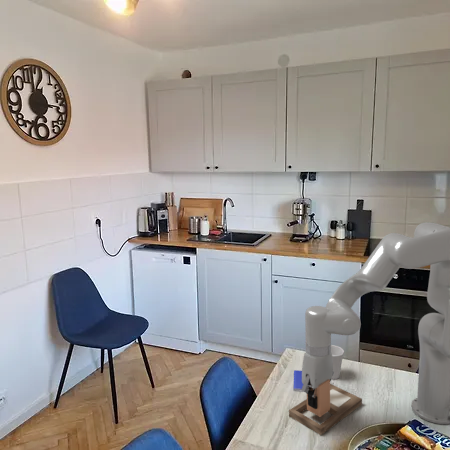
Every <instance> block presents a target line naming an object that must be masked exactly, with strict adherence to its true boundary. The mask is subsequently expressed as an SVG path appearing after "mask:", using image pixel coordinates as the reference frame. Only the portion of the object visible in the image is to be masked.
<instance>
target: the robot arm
mask: <svg viewBox="0 0 450 450" xmlns="http://www.w3.org/2000/svg"><path fill="white" fill-rule="evenodd" d="M428 266H430V267H429V268H430V269H429V270H430V272H429V278H428V287H427V294H426V299H427V300H426V301H427V304H428V305H429V306H430V307H431V308H432V309H434V310H435V311H436V312H429V313H427V314H424V316H422V317H421V318H420V320H419V323H418V326H417V327H418V329H417V335H418V340H419V341H418V342H419V365H418V379H417V380H418V382H417V396H416V397H415V398H413V399H412V401H411V404H410V405H411V410H412V411H413V413H414V414H415V415H416V416H418V417H419V418H421V419H423V420H425V421H427V422H430V423H433V424H438V425H449V424H450V226H446V225H442V224H441V223H436V222H429V221H428V222H427V221H426V222H421V223H420V224H418V225H417V226H416V227H415V229H414V232H413V237H410V236H407V235H405V234H402V233H397V232H391V233H388V234H386V235H384V236H383V238H382V239H381V240H380V241H379V243H378V244H377V245H376V247H375V249H374V250H373V251H372V253H371V254H370V255H369V257H368V258H367V259H366V261H365V262H364V263H363V265H362V266H361V268H360V269H359V271H357V272H356V273H355V274H353V275H352V276H350V277H349V278H347V279H346V280H345V281H343V282H342V283H341V284H340V285H339V286H338V287H337V288H336V290H335V291H334V293H332V295H331V296H330V297H329V300H328V301H327V303H326V305H325V306H323V305H313V306H310V307H308V308H307V309H306V310H305V315H304V318H305V320H304V321H305V328H304V329H305V332H304V334H305V337H304V338H305V353H304V354H303V358H302V366H301V368H302V369H301V371H302V383H303V387H302V391H304V392H303V393H305V394H306V395H307V394H308V405H309V406H311V407H312V408H314V409H317V396H316V393H317V388H318V387H319V385H321V384H323V383H324V382H326V381H327V380H330V382H331V381H332V379H331V378H332V376H333V374H334V372H333V362H332V353H331V345H332V335H333V334H334V335H339V336H352V335H355V334H357V333H358V332H359V331H360V329H361V325H362V323H361V319H360V317H359V315H358V314H357V313H356V312H355V311H354V310H353V308H352V307H353V306H354V305H355V303H356V302H357V301H358V300H359V299H360V298H361V297H362V296H363V295H365V294H368V293H370V292H372V293H373V292H377V291H382V290H384V289H385V288H387V286H388V284H389V283H390V281H391V280H392V279H393V277H394V276H395V275H396V273H397V272H398V271H399V269H400V268H404V269H407V270H408V269H409V270H411V269H418V268H424V267H428ZM311 388H313V392H312V391H311Z"/></svg>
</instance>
